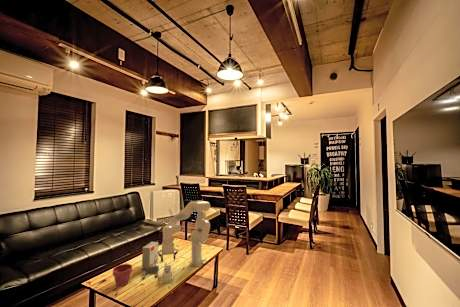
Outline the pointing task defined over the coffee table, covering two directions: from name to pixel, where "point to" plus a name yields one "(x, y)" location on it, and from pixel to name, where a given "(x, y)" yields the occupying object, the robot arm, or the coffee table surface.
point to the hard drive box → (150, 255)
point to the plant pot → (122, 274)
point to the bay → (151, 270)
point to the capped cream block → (167, 271)
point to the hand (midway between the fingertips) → (168, 260)
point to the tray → (166, 280)
